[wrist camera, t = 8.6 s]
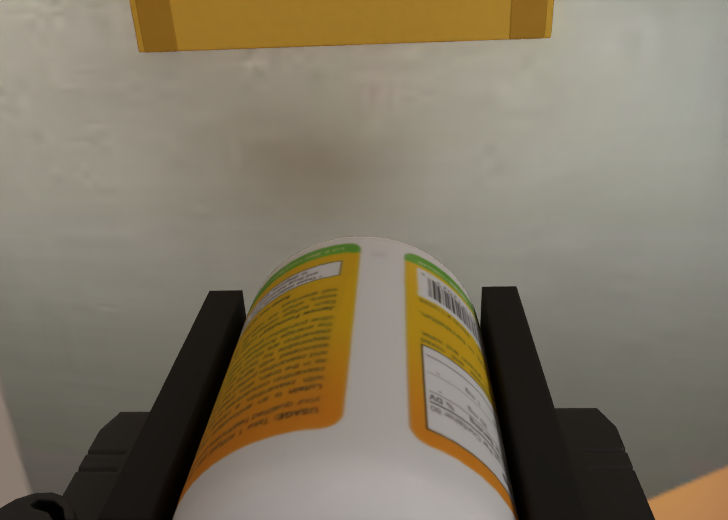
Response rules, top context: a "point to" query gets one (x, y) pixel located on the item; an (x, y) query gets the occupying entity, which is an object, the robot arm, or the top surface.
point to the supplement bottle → (355, 398)
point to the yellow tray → (331, 22)
